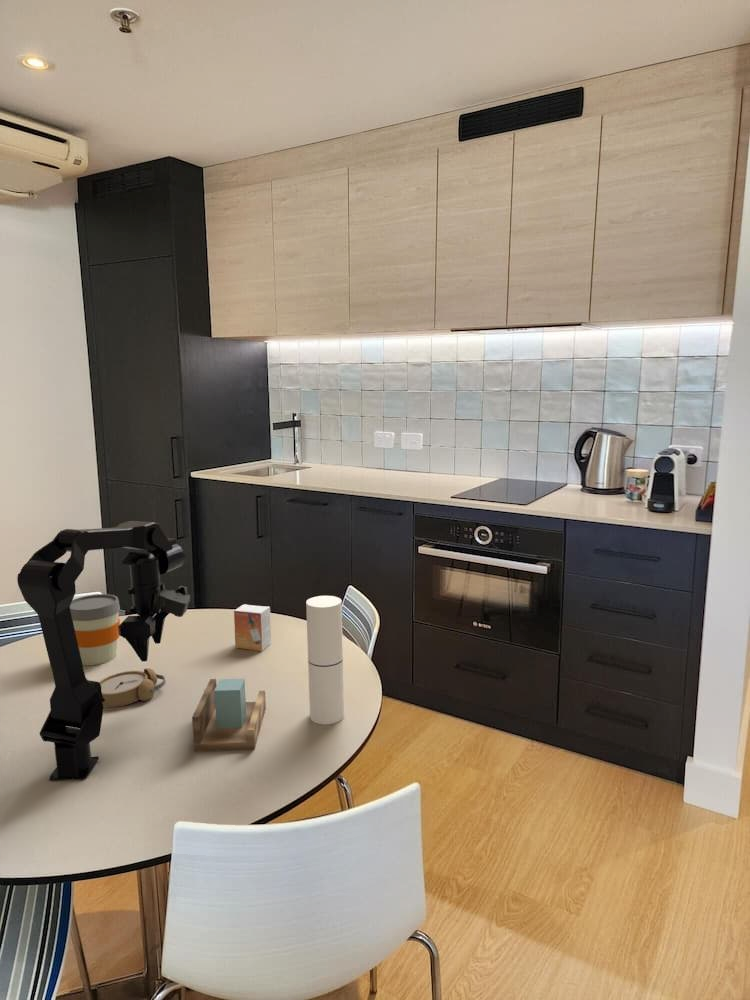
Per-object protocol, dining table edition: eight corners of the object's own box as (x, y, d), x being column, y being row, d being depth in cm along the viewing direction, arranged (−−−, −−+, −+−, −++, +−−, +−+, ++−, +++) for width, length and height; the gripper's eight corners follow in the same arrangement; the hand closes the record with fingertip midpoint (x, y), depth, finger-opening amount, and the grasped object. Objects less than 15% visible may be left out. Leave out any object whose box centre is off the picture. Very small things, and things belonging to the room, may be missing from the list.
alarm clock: (98, 676, 150) (164, 658, 152) (104, 695, 151) (169, 677, 153) (88, 698, 139) (159, 679, 141) (94, 719, 140) (165, 699, 142)
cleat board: (254, 749, 123) (253, 715, 122) (194, 751, 123) (192, 717, 122) (265, 707, 139) (264, 677, 138) (212, 709, 139) (210, 678, 138)
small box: (234, 648, 171) (232, 610, 169) (245, 640, 176) (243, 603, 174) (262, 651, 169) (260, 613, 167) (272, 643, 174) (270, 606, 172)
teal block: (242, 727, 128) (240, 689, 127) (216, 728, 128) (214, 690, 127) (246, 714, 133) (244, 678, 132) (221, 715, 133) (219, 679, 132)
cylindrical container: (313, 726, 131) (309, 608, 127) (307, 709, 138) (303, 597, 134) (347, 721, 133) (345, 605, 129) (340, 705, 140) (337, 594, 136)
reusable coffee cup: (130, 647, 173) (126, 593, 170) (113, 667, 160) (108, 609, 158) (83, 648, 172) (77, 594, 170) (62, 668, 160) (56, 610, 157)
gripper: (172, 594, 125) (178, 670, 128) (195, 567, 144) (199, 634, 147) (114, 595, 125) (121, 671, 128) (144, 568, 143) (150, 635, 146)
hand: (151, 651), depth 137 cm, fingers open, 9 cm apart
